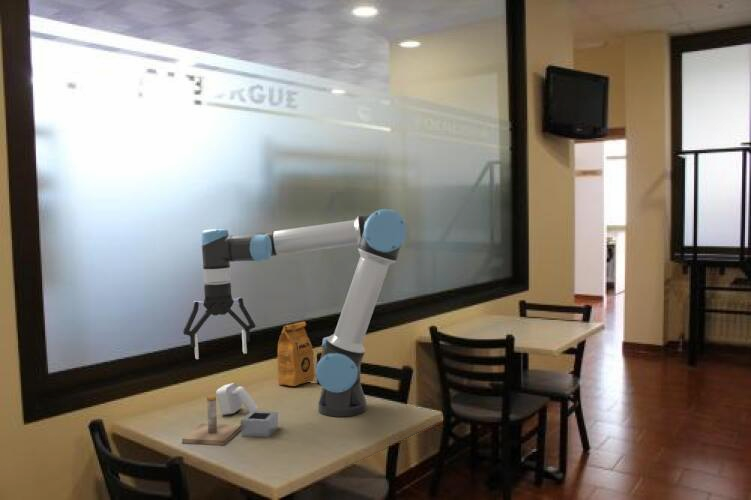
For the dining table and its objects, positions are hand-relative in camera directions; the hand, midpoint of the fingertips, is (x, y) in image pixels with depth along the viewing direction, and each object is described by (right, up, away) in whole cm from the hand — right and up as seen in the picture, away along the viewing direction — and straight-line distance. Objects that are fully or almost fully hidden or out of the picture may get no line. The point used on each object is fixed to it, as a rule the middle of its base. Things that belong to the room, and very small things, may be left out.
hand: (221, 355), depth 180 cm
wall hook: (+3, -20, +12) cm, 24 cm away
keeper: (-1, -21, -8) cm, 22 cm away
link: (+12, -21, -5) cm, 25 cm away
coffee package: (+16, -18, +44) cm, 51 cm away
